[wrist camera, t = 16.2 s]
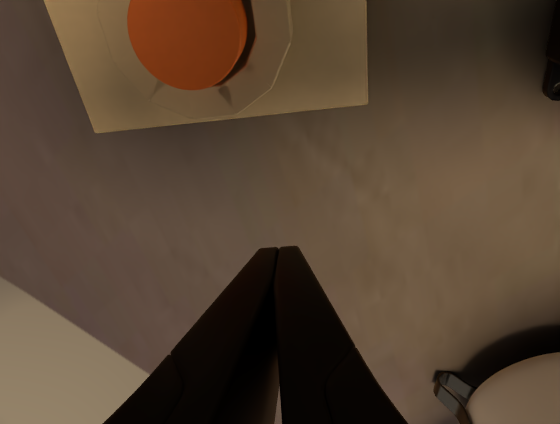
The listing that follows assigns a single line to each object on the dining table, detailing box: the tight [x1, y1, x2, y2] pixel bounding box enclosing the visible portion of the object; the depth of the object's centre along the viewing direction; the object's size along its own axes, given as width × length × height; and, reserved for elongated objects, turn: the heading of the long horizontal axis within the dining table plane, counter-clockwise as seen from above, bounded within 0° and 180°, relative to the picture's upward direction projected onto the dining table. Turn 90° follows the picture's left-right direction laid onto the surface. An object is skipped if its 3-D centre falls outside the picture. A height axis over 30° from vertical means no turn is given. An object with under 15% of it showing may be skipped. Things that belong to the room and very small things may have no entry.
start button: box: [127, 0, 248, 90], centre depth 14 cm, size 4×4×2 cm
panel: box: [44, 0, 368, 133], centre depth 16 cm, size 12×8×4 cm, turn 98°
